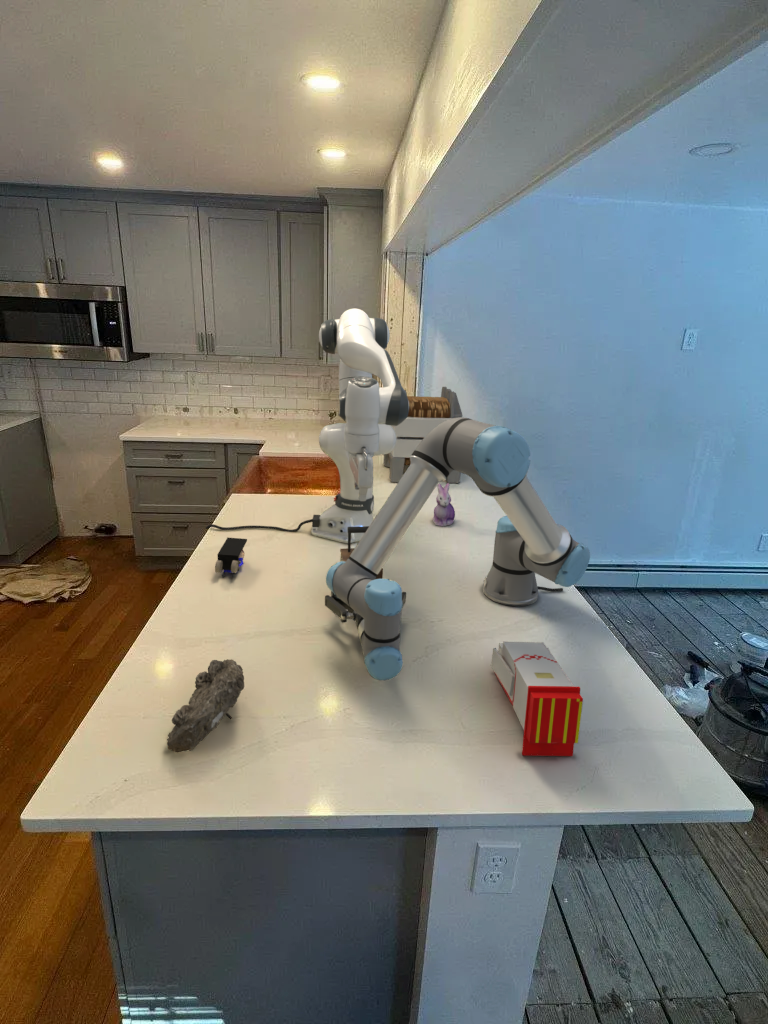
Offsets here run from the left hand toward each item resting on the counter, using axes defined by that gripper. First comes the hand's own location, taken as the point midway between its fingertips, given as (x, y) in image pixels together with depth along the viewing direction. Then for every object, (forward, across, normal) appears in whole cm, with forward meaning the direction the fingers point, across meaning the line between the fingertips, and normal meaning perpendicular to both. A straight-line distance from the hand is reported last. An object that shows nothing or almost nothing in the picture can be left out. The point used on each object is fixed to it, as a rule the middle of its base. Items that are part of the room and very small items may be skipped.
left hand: (360, 494), depth 149 cm
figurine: (+28, +51, -39) cm, 70 cm away
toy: (+28, -52, -28) cm, 66 cm away
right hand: (+22, -9, 0) cm, 23 cm away
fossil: (+28, -48, +34) cm, 65 cm away
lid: (+17, -5, 0) cm, 18 cm away
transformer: (+29, +118, -44) cm, 129 cm away
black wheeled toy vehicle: (+28, +16, +35) cm, 48 cm away
